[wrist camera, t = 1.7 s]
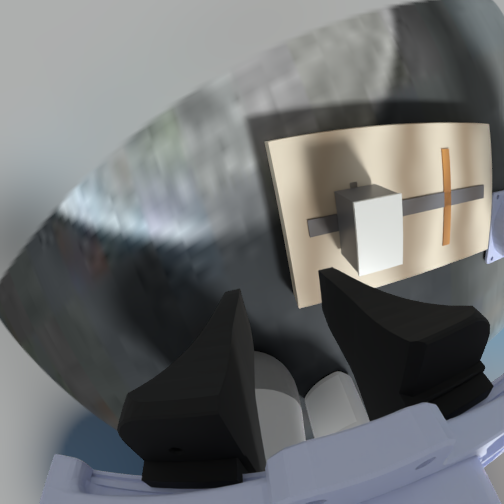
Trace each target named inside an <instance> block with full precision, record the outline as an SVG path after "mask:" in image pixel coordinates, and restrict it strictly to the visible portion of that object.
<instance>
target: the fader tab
mask: <svg viewBox="0 0 504 504" xmlns="http://www.w3.org/2000/svg"><path fill="white" fill-rule="evenodd" d="M334 194H335V201H336V209H337V217H338V226H339V235H340V245H341V254H342V255H343V256H344V257H345V259H346V260H347V261H348V262H349V263H350V264H351V265H352V267H353V268H354V269H355V270H356V271H357V273H358V275H359V276H363V275H367V274H370V273H374V272H377V271H381V270H384V269H388V268H391V267H395V266H398V265H401V264H403V212H402V193H396V192H394V191H391V190H389V189H387V188H384V187H382V186H379V185H377V184H372V185H366V186H360V187H355V188H350V189H344V190H339V191H334Z"/></svg>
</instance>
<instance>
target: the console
mask: <svg viewBox="0 0 504 504" xmlns="http://www.w3.org/2000/svg"><path fill="white" fill-rule="evenodd" d="M264 143H265V148H266V152H267V157H268V162H269V166H270V171H271V176H272V181H273V186H274V190H275V195H276V200H277V205H278V210H279V216H280V221H281V226H282V231H283V236H284V242H285V247H286V253H287V258H288V264H289V269H290V275H291V281H292V286H293V292H294V296H295V299H296V301H297V304H298V307H299V308H303V307H307V306H311V305H315V304H319V303H322V300H321V291H320V282H319V274H318V270H322V269H326V268H330V267H333V268H335V269H337V270H339V271H341V272H343V273H345V274H347V275H349V276H350V277H352V278H354V279H356V280H358V281H360V282H362V283H364V284H367V285H369V286H371V287H373V288H376V287H379V286H383V285H386V284H389V283H393V282H396V281H399V280H402V279H405V278H408V277H411V276H414V275H417V274H420V273H423V272H426V271H429V270H432V269H435V268H438V267H441V266H444V265H447V264H449V263H452V262H455V261H458V260H460V259H463V258H466V257H468V256H471V255H474V254H476V253H479V252H481V251H484V250H487V249H488V241H489V232H490V221H491V206H492V155H491V140H490V129H489V124H483V123H468V122H428V123H403V124H387V125H375V126H364V127H354V128H346V129H337V130H330V131H322V132H316V133H309V134H303V135H297V136H291V137H285V138H280V139H274V140H269V141H264ZM372 184H377V185H379V186H382V187H384V188H387V189H389V190H391V191H394V192H396V193H402V212H403V264H401V265H398V266H395V267H391V268H388V269H384V270H381V271H377V272H374V273H370V274H367V275H363V276H359V275H358V273H357V271H356V270H355V269H354V268H353V267H352V265H351V264H350V263H349V262H348V261H347V260H346V259H345V257H344V256H343V255H342V254H341V245H340V235H339V226H338V217H337V209H336V201H335V194H334V191H339V190H344V189H350V188H355V187H360V186H366V185H372Z"/></svg>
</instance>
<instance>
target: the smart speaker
mask: <svg viewBox="0 0 504 504" xmlns="http://www.w3.org/2000/svg"><path fill="white" fill-rule="evenodd" d="M254 368H255V395H256V403H257V410H258V417H259V423H260V429H261V435H262V441H263V447H264V453H265V458H266V463H267V460H268V459H269V458H270V457H271V456H273V455H274V454H276V453H277V452H279V451H280V450H282V449H283V448H285V447H288V446H292V445H295V444H298V443H300V442H303V441H306V440H305V432H304V424H303V416H302V409H301V403H300V398H299V394H298V390H297V387H296V384H295V381H294V379H293V377H292V375H291V374H290V372H289V371H288V369H287V368H286V367H285V366H284V365H283V364H282V363H281V362H280V361H279V360H277V359H276V358H274V357H272V356H270V355H268V354H265V353H262V352H258V351H254Z"/></svg>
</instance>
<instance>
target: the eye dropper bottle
mask: <svg viewBox="0 0 504 504" xmlns="http://www.w3.org/2000/svg"><path fill="white" fill-rule="evenodd" d="M305 405H306V409H307V412H308V416H309V420H310V424H311V427H312V431H313V435H314V438H318V437H322V436H326V435H330V434H333V433H336V432H340V431H343V430H346V429H350V428H353V427H356V426H359V425H362V424H365V423H368V422H370V421H369V418H368V416H367V413H366V411H365V408H364V406H363V404H362V401H361V399H360V397H359V395H358V392H357V390H356V388H355V385H354V383H353V381H352V379H351V377H350V376H349V375H347V374H345V373H343V372H340V371H337V372H334V373H332V374H330V375H328V376H326V377H325V378H323V379H322V380H320V381H319V382H317V383H316V384H315V385H314V386H313V387H312V388H311V389H310V390H309V392H308V393H307V395H306V397H305Z"/></svg>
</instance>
